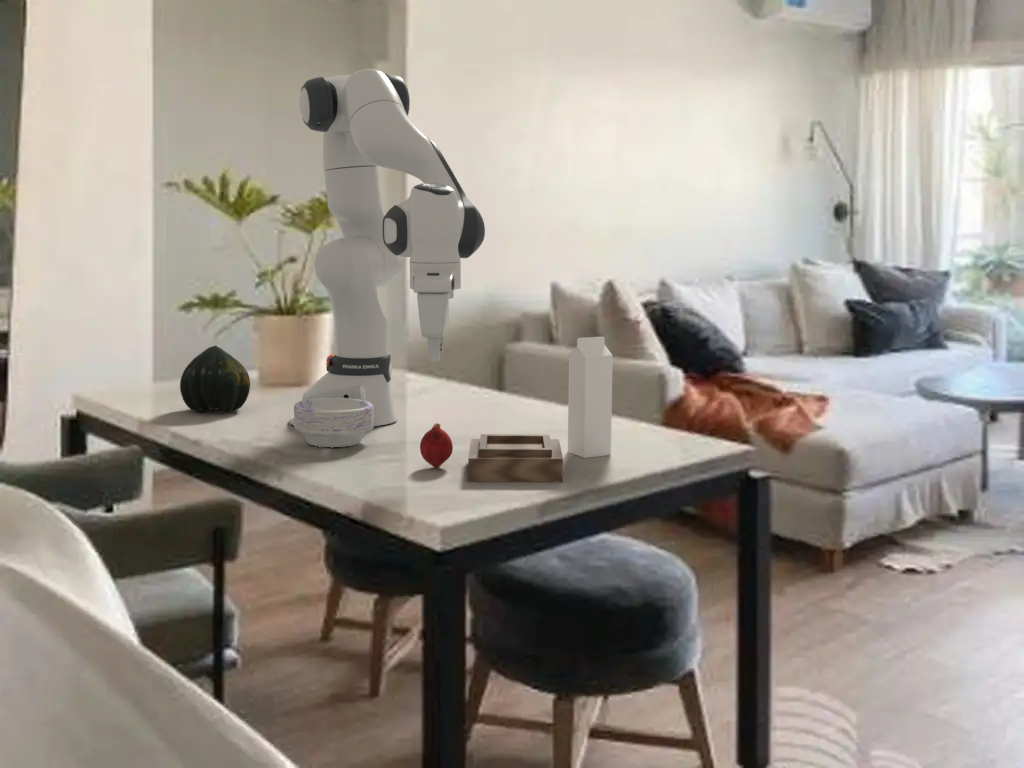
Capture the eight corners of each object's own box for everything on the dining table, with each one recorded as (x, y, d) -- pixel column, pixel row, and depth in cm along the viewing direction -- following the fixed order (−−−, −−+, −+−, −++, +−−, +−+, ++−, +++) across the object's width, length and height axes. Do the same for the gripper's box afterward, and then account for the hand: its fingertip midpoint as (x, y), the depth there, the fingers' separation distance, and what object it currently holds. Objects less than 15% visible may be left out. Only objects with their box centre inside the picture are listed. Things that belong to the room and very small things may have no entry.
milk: (567, 452, 225) (568, 336, 221) (594, 449, 227) (596, 334, 224) (584, 458, 219) (585, 339, 216) (611, 455, 222) (613, 338, 219)
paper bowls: (387, 446, 229) (386, 405, 227) (313, 455, 221) (312, 413, 219) (353, 432, 241) (352, 393, 240) (282, 440, 233) (281, 400, 232)
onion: (447, 472, 208) (447, 427, 207) (416, 470, 209) (415, 425, 208) (456, 464, 214) (456, 421, 212) (425, 463, 215) (424, 419, 213)
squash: (209, 396, 250) (238, 338, 258) (157, 392, 257) (186, 336, 265) (246, 431, 261) (272, 374, 268) (194, 427, 268) (221, 372, 275)
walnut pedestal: (468, 481, 202) (468, 451, 201) (471, 460, 217) (471, 432, 216) (562, 481, 202) (563, 452, 201) (558, 460, 217) (558, 432, 217)
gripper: (421, 274, 216) (422, 350, 218) (412, 283, 196) (413, 366, 198) (456, 274, 216) (456, 349, 218) (450, 283, 196) (451, 366, 198)
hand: (436, 357), depth 208 cm, fingers open, 8 cm apart
